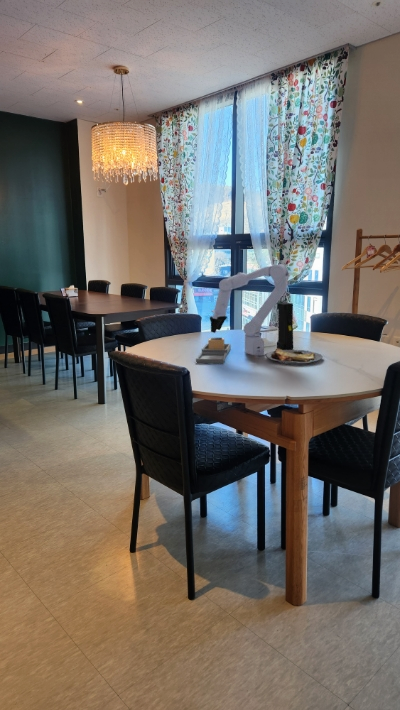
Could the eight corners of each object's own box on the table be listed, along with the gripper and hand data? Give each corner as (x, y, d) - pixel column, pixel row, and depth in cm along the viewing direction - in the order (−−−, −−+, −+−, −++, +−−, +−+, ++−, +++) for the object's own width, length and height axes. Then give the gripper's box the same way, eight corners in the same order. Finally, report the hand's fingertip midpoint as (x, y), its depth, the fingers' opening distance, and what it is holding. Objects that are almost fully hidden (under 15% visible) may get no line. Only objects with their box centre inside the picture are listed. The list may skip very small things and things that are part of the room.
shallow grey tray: (201, 356, 223) (201, 351, 222) (227, 356, 221) (227, 352, 220) (195, 363, 209) (195, 359, 208) (223, 364, 206) (223, 359, 206)
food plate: (257, 362, 208) (257, 354, 207) (275, 352, 228) (275, 345, 227) (314, 369, 196) (315, 361, 196) (327, 358, 217) (328, 350, 216)
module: (210, 350, 231) (210, 337, 230) (224, 350, 230) (224, 337, 229) (208, 352, 227) (208, 338, 225) (223, 352, 225) (223, 339, 224)
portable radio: (295, 349, 232) (296, 298, 227) (284, 351, 230) (285, 299, 225) (286, 347, 239) (287, 297, 234) (276, 348, 237) (276, 297, 232)
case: (206, 350, 236) (206, 343, 236) (230, 350, 234) (230, 344, 234) (201, 356, 223) (201, 349, 222) (227, 356, 221) (227, 349, 220)
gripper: (218, 299, 233) (212, 326, 237) (209, 303, 220) (203, 330, 224) (232, 303, 231) (225, 330, 235) (223, 307, 218) (216, 335, 222)
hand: (215, 330), depth 229 cm, fingers open, 7 cm apart
